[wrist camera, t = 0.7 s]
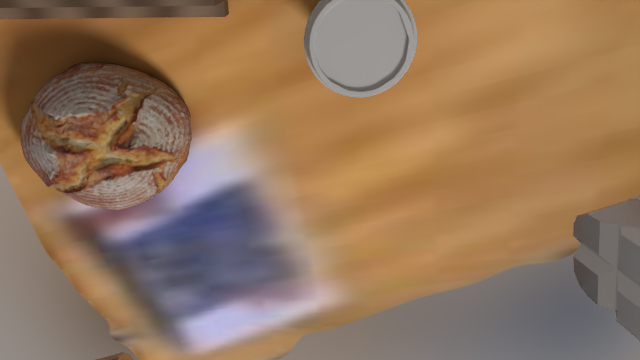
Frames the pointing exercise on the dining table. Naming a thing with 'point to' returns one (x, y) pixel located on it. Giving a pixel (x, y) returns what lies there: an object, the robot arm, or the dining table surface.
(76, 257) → the dining table surface
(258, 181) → the dining table surface
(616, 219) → the robot arm
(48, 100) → the bread
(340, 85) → the disposable coffee cup
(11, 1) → the ridge stand
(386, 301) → the dining table surface
